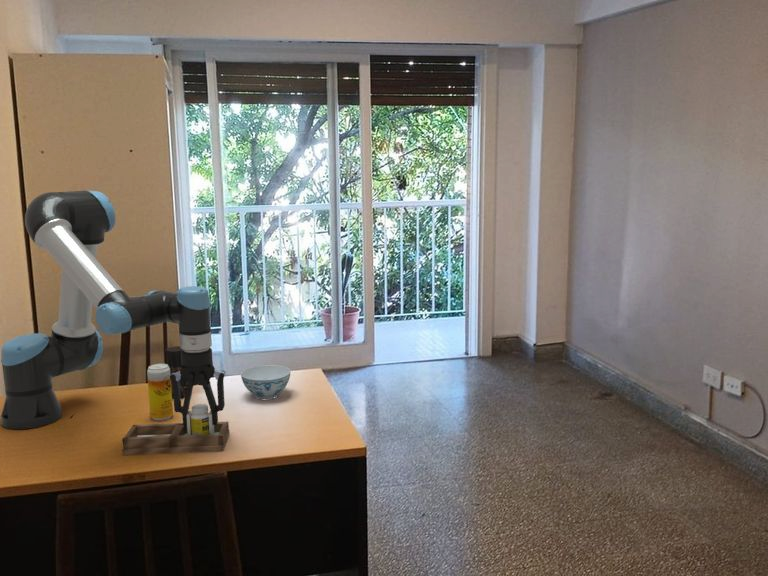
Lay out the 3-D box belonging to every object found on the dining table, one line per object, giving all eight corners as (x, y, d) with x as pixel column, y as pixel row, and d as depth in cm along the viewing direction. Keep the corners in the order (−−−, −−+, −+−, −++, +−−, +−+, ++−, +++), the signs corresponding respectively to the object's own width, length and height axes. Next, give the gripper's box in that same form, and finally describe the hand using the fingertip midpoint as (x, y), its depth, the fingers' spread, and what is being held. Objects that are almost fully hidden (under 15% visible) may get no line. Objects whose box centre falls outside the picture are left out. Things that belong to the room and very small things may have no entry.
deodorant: (169, 393, 208) (166, 347, 206) (189, 391, 210) (186, 345, 207) (169, 399, 203) (166, 352, 200) (189, 397, 205) (186, 350, 202)
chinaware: (258, 408, 195) (257, 383, 194) (232, 395, 206) (231, 371, 205) (300, 396, 205) (300, 372, 204) (274, 385, 216) (273, 362, 215)
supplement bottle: (204, 442, 168) (202, 410, 167) (188, 440, 169) (186, 408, 168) (214, 435, 173) (212, 404, 171) (198, 433, 174) (196, 402, 172)
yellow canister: (166, 422, 185) (162, 370, 182) (146, 420, 186) (142, 369, 184) (177, 414, 191) (173, 363, 188) (157, 412, 192) (154, 362, 190)
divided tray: (122, 454, 164) (121, 440, 164) (135, 437, 175) (133, 423, 175) (223, 451, 166) (222, 437, 166) (229, 433, 177) (228, 420, 176)
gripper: (156, 353, 162) (162, 444, 167) (230, 351, 164) (234, 441, 168) (163, 345, 170) (169, 432, 174) (234, 343, 171) (238, 429, 175)
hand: (201, 436), depth 171 cm, fingers closed on supplement bottle, 5 cm apart
